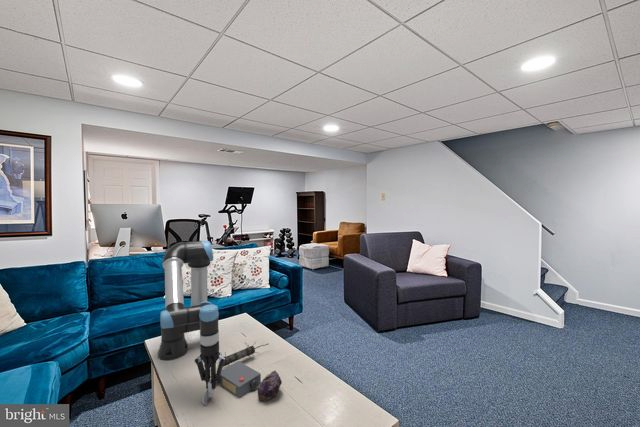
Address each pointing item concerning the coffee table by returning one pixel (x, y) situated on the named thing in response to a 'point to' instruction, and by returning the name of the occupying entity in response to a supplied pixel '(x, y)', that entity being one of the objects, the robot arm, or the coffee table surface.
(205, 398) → the side door
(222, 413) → the coffee table surface
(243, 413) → the coffee table surface
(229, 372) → the camera body
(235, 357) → the bomb
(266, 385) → the rock
